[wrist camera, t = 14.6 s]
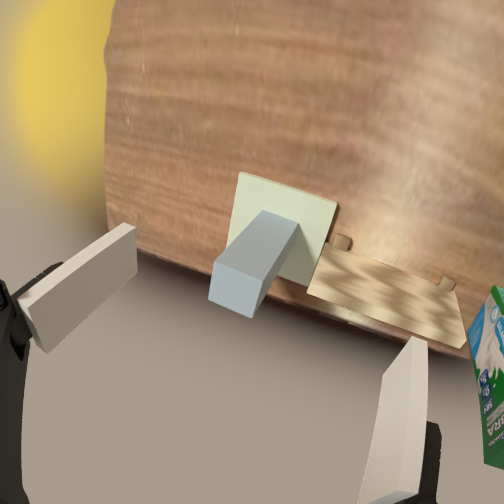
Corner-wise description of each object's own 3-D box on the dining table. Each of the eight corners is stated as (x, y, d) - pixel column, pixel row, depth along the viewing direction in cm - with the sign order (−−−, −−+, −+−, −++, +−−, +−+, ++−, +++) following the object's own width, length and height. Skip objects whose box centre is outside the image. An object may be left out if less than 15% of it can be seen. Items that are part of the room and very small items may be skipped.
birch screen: (318, 261, 43) (301, 304, 35) (329, 230, 40) (315, 269, 32) (443, 308, 39) (451, 358, 31) (460, 281, 36) (474, 329, 28)
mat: (227, 252, 48) (224, 255, 47) (241, 171, 41) (239, 172, 40) (309, 283, 45) (307, 286, 45) (337, 202, 38) (336, 204, 38)
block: (262, 209, 42) (214, 261, 30) (298, 222, 41) (263, 281, 29) (254, 242, 45) (207, 300, 33) (288, 255, 44) (251, 319, 32)
